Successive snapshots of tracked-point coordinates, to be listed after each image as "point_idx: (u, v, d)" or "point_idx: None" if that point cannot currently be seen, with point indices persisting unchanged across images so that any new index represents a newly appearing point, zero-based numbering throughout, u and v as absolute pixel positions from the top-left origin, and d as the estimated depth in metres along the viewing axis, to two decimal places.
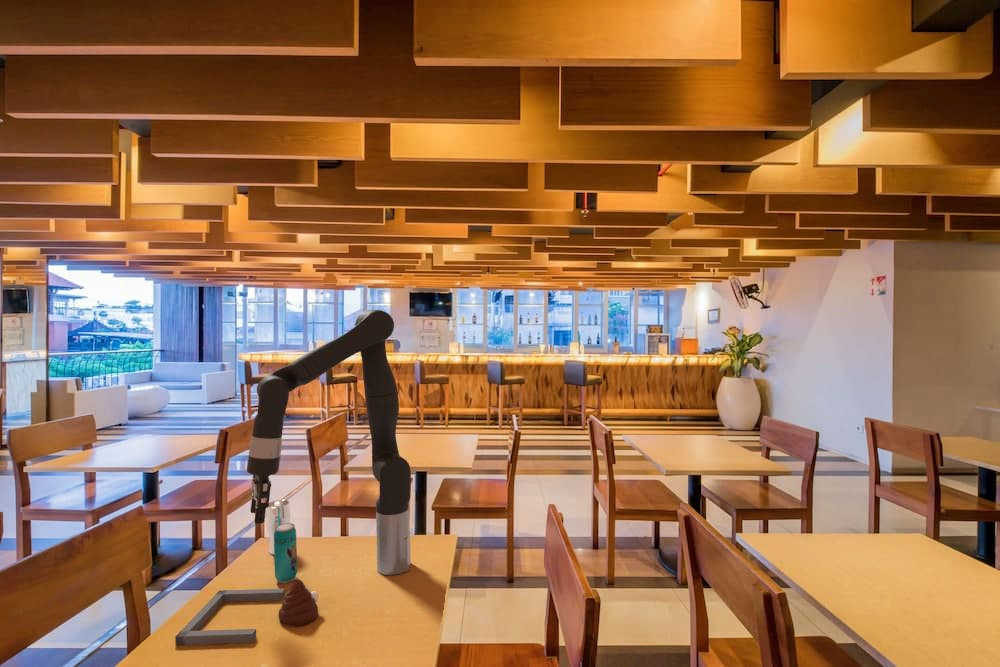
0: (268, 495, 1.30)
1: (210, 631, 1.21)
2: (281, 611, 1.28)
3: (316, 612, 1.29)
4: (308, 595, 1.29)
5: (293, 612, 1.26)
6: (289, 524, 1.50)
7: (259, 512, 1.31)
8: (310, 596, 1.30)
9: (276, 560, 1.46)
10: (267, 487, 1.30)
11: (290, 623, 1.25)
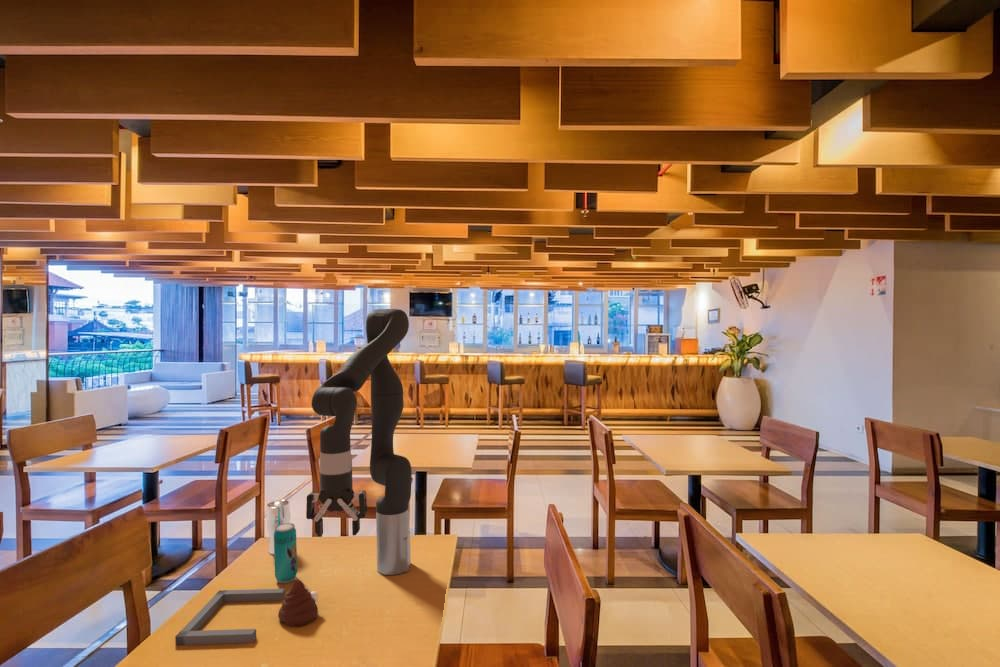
0: (366, 502, 1.30)
1: (210, 631, 1.21)
2: (281, 611, 1.27)
3: (316, 612, 1.29)
4: (308, 595, 1.29)
5: (293, 612, 1.26)
6: (289, 524, 1.50)
7: (358, 522, 1.29)
8: (310, 596, 1.30)
9: (276, 560, 1.46)
10: (364, 495, 1.30)
11: (290, 623, 1.25)
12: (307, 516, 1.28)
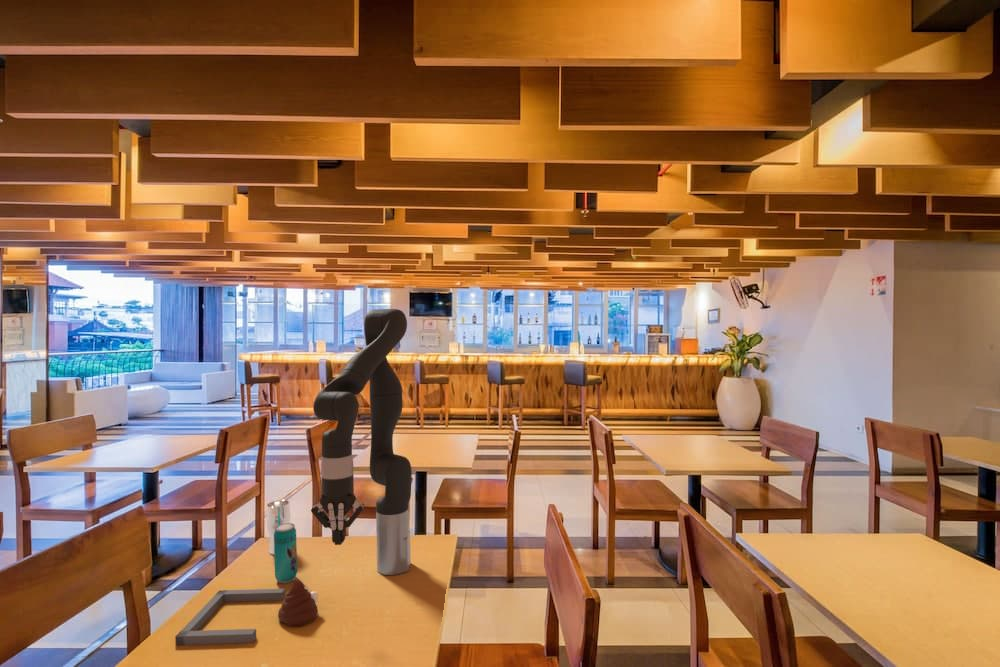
0: None
1: (210, 631, 1.21)
2: (281, 611, 1.27)
3: (316, 612, 1.29)
4: (308, 595, 1.29)
5: (293, 612, 1.25)
6: (289, 524, 1.50)
7: (343, 532, 1.29)
8: (310, 596, 1.30)
9: (276, 560, 1.46)
10: None
11: (290, 623, 1.25)
12: (324, 526, 1.28)
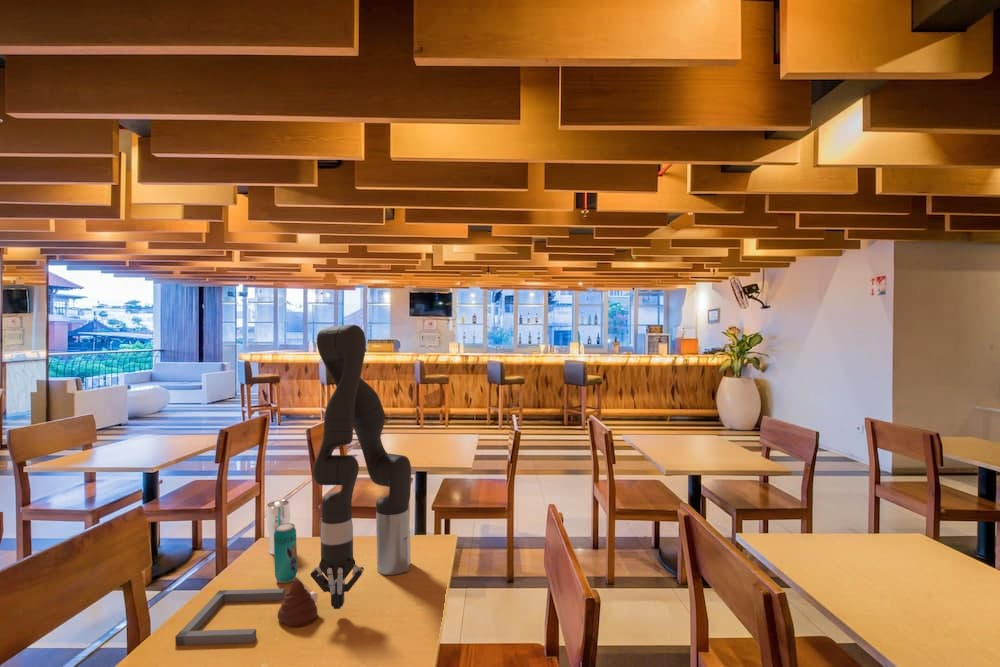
0: None
1: (210, 631, 1.21)
2: (280, 612, 1.27)
3: (315, 613, 1.28)
4: (307, 596, 1.29)
5: (293, 613, 1.25)
6: (289, 524, 1.50)
7: (343, 596, 1.29)
8: (309, 597, 1.29)
9: (276, 560, 1.46)
10: None
11: (289, 624, 1.25)
12: (324, 590, 1.28)
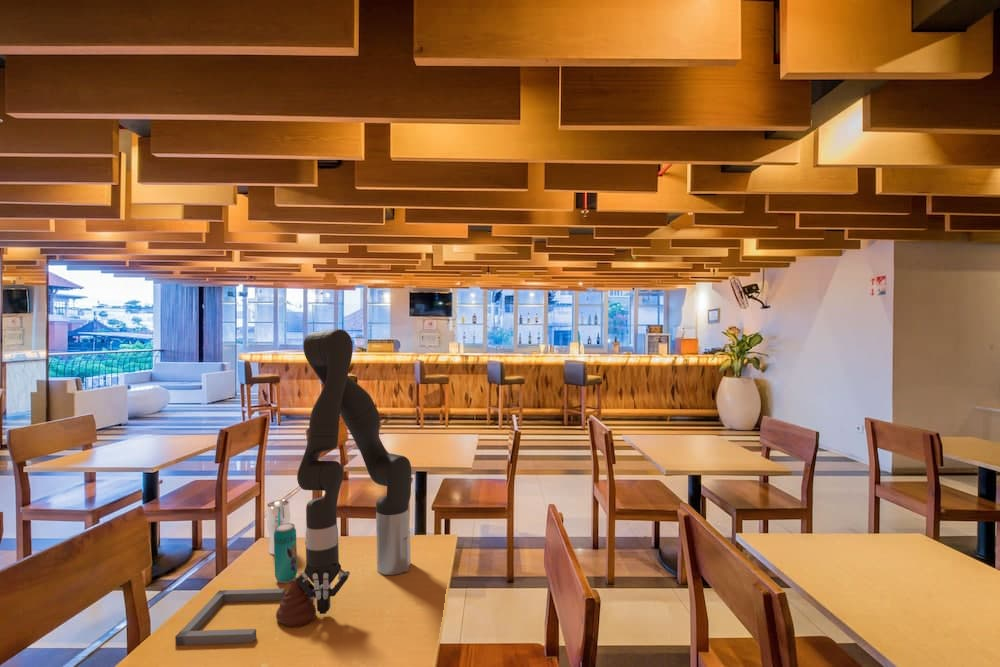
0: None
1: (210, 631, 1.21)
2: (279, 612, 1.27)
3: (314, 613, 1.28)
4: (306, 596, 1.28)
5: (291, 613, 1.25)
6: (289, 524, 1.50)
7: (329, 600, 1.29)
8: (308, 597, 1.29)
9: (276, 560, 1.46)
10: None
11: (288, 624, 1.25)
12: (309, 595, 1.28)
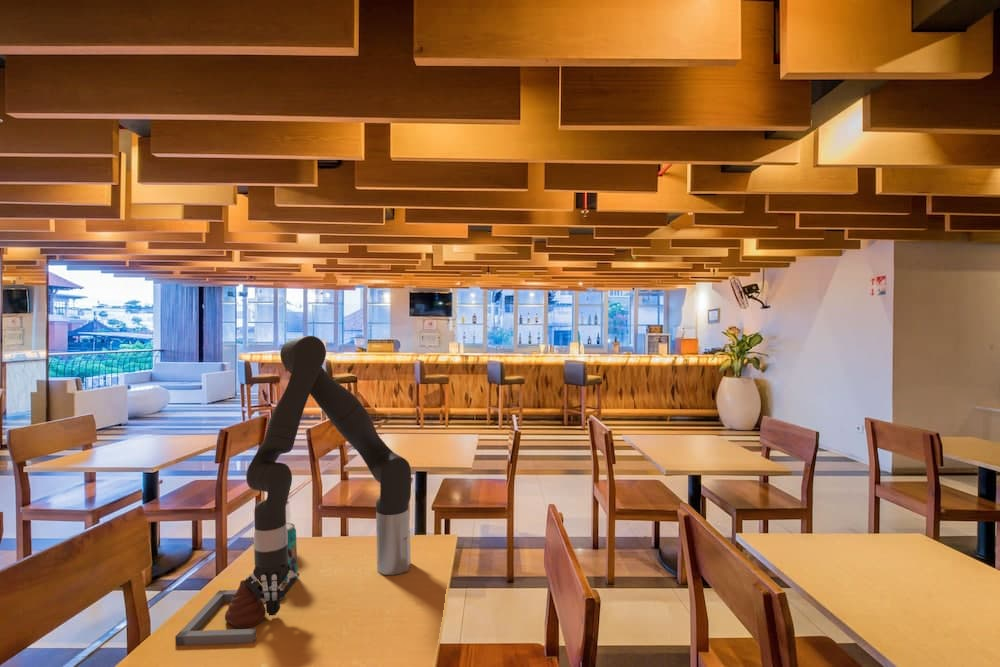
0: None
1: (210, 631, 1.21)
2: (227, 613, 1.27)
3: (263, 614, 1.28)
4: (255, 597, 1.28)
5: (239, 614, 1.25)
6: (289, 524, 1.50)
7: (278, 602, 1.29)
8: None
9: None
10: None
11: (235, 625, 1.25)
12: (258, 597, 1.28)
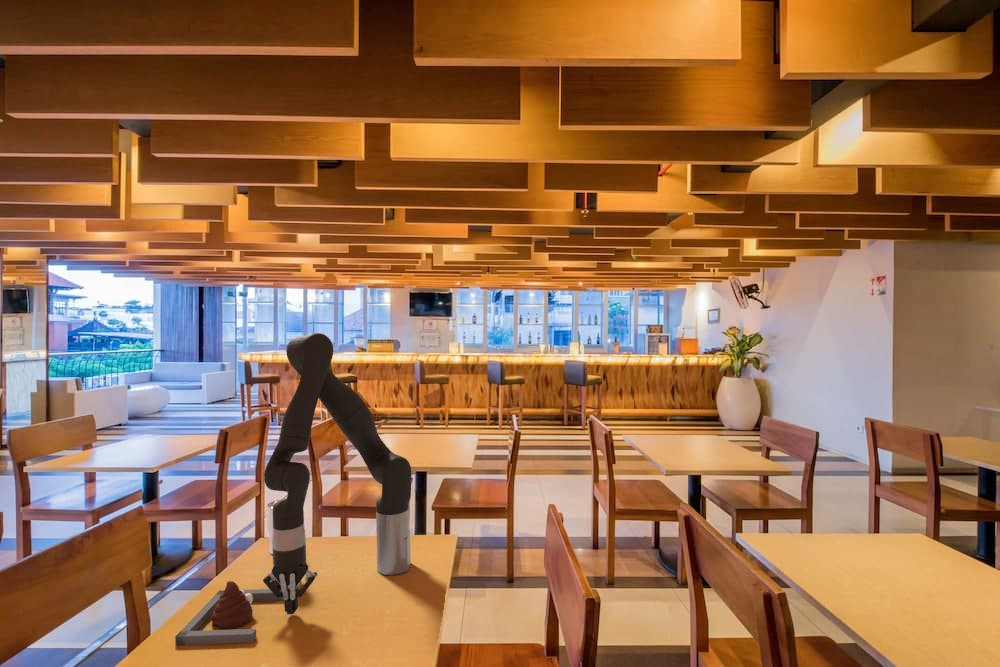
0: None
1: (210, 631, 1.21)
2: (214, 614, 1.27)
3: (250, 614, 1.28)
4: (242, 597, 1.28)
5: (225, 615, 1.25)
6: None
7: (296, 601, 1.30)
8: (244, 598, 1.29)
9: None
10: None
11: (222, 626, 1.25)
12: (276, 595, 1.29)
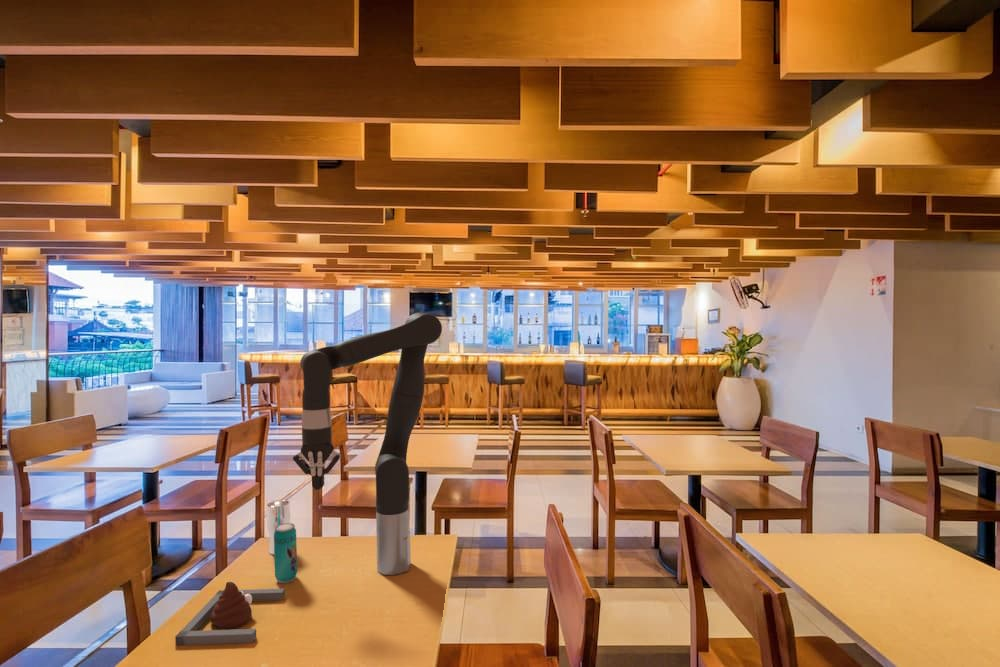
0: (335, 463, 1.44)
1: (210, 631, 1.21)
2: (213, 614, 1.26)
3: (249, 615, 1.28)
4: (241, 598, 1.28)
5: (224, 615, 1.25)
6: (289, 524, 1.50)
7: (322, 478, 1.43)
8: (243, 599, 1.29)
9: (276, 560, 1.46)
10: (338, 457, 1.43)
11: (221, 626, 1.24)
12: (305, 472, 1.41)
